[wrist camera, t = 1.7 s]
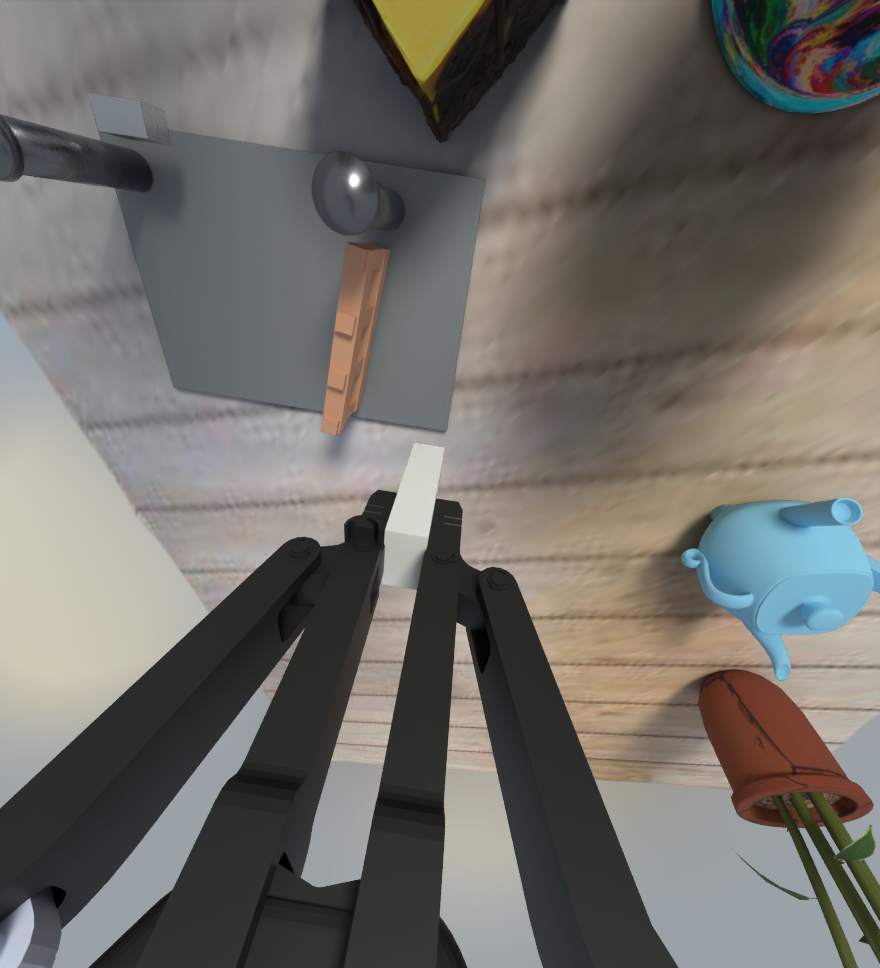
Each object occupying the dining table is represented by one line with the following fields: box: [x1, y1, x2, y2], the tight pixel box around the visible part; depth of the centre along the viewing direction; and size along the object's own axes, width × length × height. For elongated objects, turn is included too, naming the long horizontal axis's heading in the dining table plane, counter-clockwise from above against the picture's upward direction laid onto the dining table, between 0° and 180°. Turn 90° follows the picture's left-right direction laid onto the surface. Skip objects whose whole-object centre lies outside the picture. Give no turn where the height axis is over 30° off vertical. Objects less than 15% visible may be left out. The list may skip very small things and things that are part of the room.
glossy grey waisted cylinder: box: [311, 151, 405, 236], centre depth 22 cm, size 3×3×11 cm
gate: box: [321, 242, 391, 436], centre depth 28 cm, size 13×2×6 cm, turn 163°
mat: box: [95, 120, 485, 431], centre depth 30 cm, size 19×27×1 cm
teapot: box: [681, 498, 880, 681], centre depth 34 cm, size 15×14×11 cm
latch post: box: [0, 93, 172, 192], centre depth 22 cm, size 5×6×11 cm
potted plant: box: [698, 670, 880, 968], centre depth 39 cm, size 17×16×35 cm
